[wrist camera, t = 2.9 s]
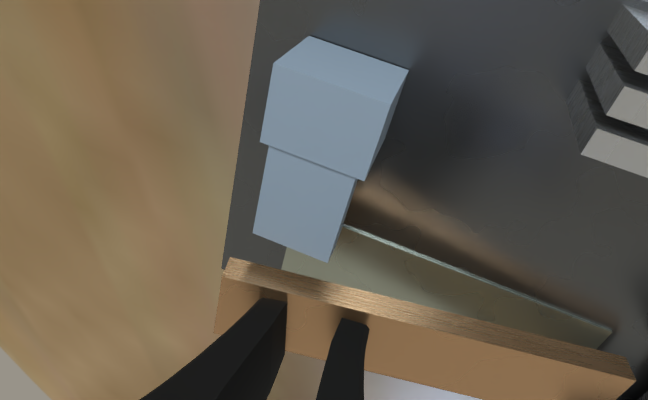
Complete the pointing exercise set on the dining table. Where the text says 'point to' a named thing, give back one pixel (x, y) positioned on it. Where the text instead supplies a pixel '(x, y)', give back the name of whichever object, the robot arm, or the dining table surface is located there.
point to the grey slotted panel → (485, 163)
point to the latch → (321, 140)
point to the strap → (425, 340)
